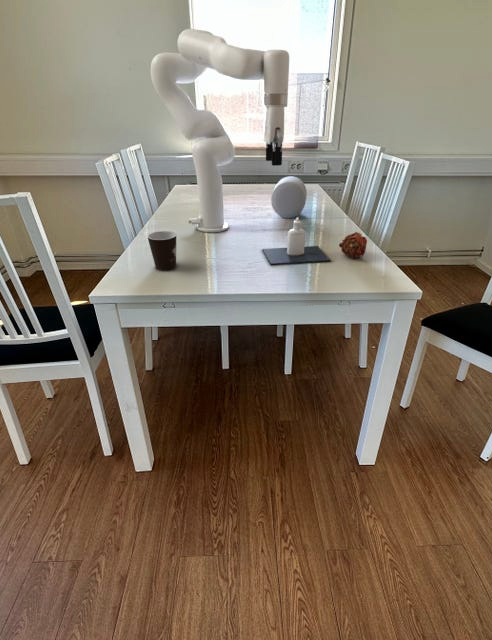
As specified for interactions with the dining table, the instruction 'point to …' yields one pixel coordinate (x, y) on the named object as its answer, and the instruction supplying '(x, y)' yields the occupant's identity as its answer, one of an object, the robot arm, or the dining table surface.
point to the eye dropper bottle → (296, 239)
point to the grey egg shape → (289, 197)
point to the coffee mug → (163, 249)
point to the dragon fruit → (354, 245)
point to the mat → (281, 257)
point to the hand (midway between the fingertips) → (273, 162)
